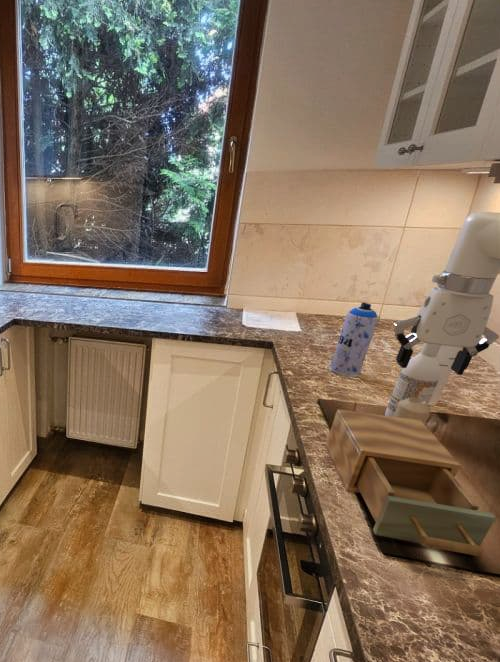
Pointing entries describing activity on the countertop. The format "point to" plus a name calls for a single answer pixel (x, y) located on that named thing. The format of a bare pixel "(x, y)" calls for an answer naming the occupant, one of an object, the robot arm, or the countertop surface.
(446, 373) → the cylindrical container
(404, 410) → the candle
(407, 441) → the cabinet
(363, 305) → the aerosol can
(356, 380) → the countertop surface
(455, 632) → the countertop surface
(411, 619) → the countertop surface
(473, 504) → the drawer
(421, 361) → the bath foam
